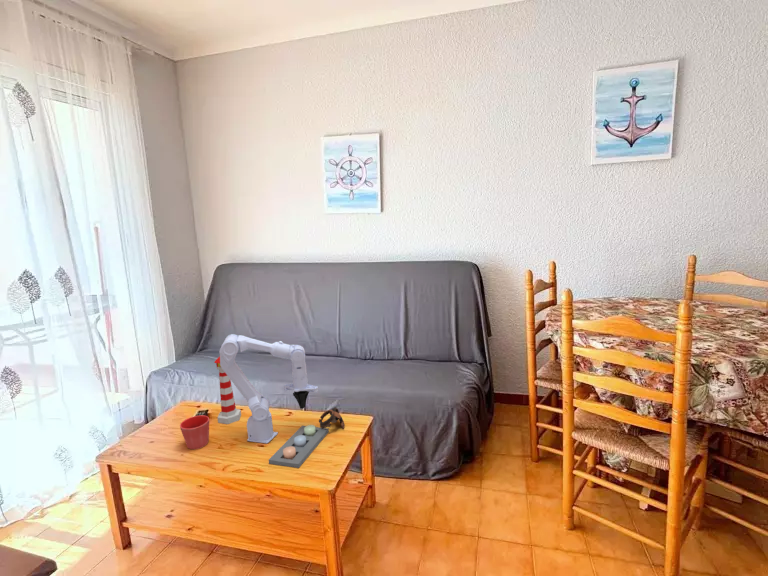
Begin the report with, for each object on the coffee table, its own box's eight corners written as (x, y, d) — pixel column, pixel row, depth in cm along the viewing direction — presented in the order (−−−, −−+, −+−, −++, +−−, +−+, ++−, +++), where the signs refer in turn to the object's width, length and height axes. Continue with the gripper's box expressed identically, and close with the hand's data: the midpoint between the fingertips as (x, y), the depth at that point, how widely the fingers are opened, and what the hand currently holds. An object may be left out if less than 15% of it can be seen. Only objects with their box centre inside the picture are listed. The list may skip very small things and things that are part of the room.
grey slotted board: (268, 463, 149) (268, 459, 148) (302, 428, 172) (302, 425, 172) (298, 468, 145) (298, 464, 145) (328, 431, 168) (328, 428, 168)
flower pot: (180, 454, 158) (176, 430, 157) (186, 439, 169) (183, 417, 167) (209, 449, 161) (206, 426, 159) (214, 435, 171) (211, 413, 169)
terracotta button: (281, 460, 150) (280, 452, 149) (287, 453, 154) (286, 445, 153) (292, 461, 148) (291, 453, 148) (298, 455, 152) (297, 447, 152)
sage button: (302, 437, 165) (302, 429, 164) (308, 431, 169) (307, 424, 168) (312, 438, 163) (312, 431, 163) (317, 432, 167) (317, 425, 167)
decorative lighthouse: (245, 415, 187) (238, 351, 182) (232, 425, 179) (223, 358, 174) (227, 412, 191) (219, 350, 185) (213, 422, 182) (204, 356, 177)
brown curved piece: (344, 433, 167) (333, 419, 165) (325, 441, 170) (314, 428, 167) (348, 413, 178) (338, 399, 175) (330, 421, 181) (319, 407, 178)
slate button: (292, 448, 157) (291, 440, 157) (298, 442, 161) (297, 434, 161) (303, 449, 156) (302, 441, 155) (308, 443, 160) (307, 435, 159)
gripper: (278, 378, 164) (281, 410, 167) (311, 380, 160) (314, 413, 162) (287, 371, 171) (290, 402, 173) (319, 374, 167) (322, 405, 169)
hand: (302, 407), depth 168 cm, fingers closed
